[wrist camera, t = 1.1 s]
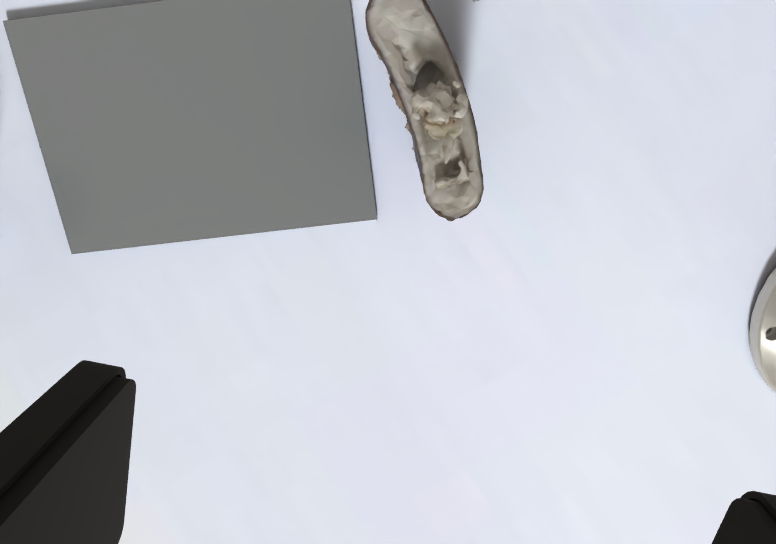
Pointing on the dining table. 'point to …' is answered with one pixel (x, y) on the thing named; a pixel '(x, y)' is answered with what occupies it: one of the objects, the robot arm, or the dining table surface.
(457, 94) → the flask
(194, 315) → the dining table surface
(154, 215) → the slate board
